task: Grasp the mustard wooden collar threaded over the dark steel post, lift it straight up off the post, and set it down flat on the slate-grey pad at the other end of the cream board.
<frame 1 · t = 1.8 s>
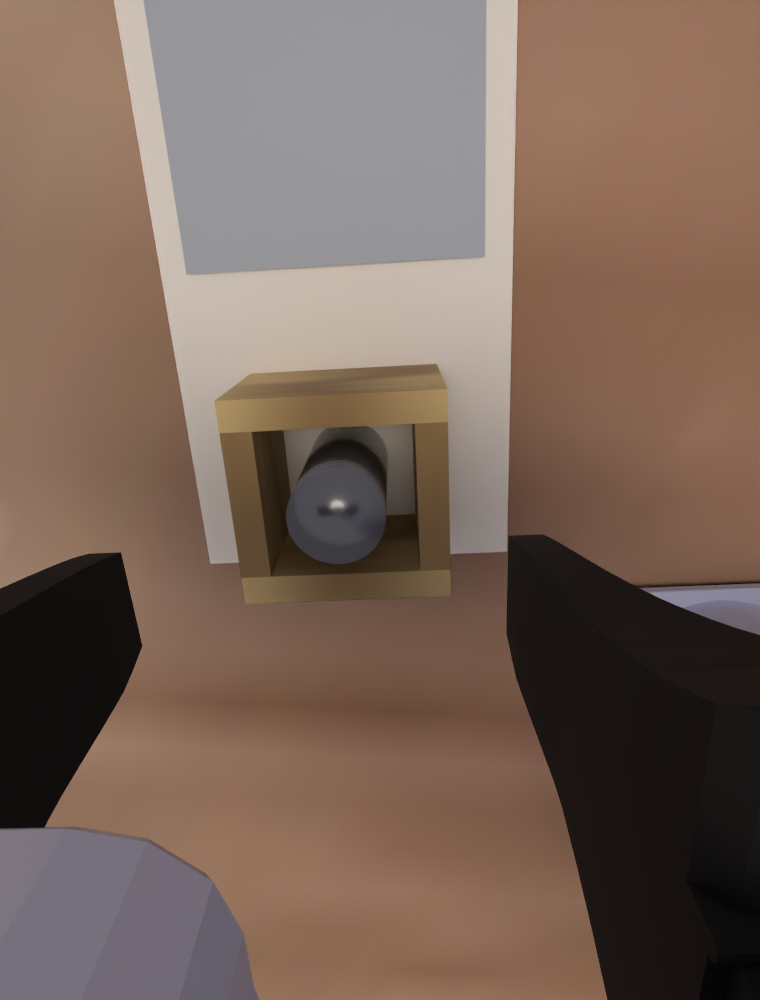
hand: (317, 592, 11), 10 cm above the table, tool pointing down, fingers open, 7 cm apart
board: (339, 290, 19), on the table
collar: (349, 458, 19), point 1 cm above the table, touching board
post: (351, 449, 20), resting on board
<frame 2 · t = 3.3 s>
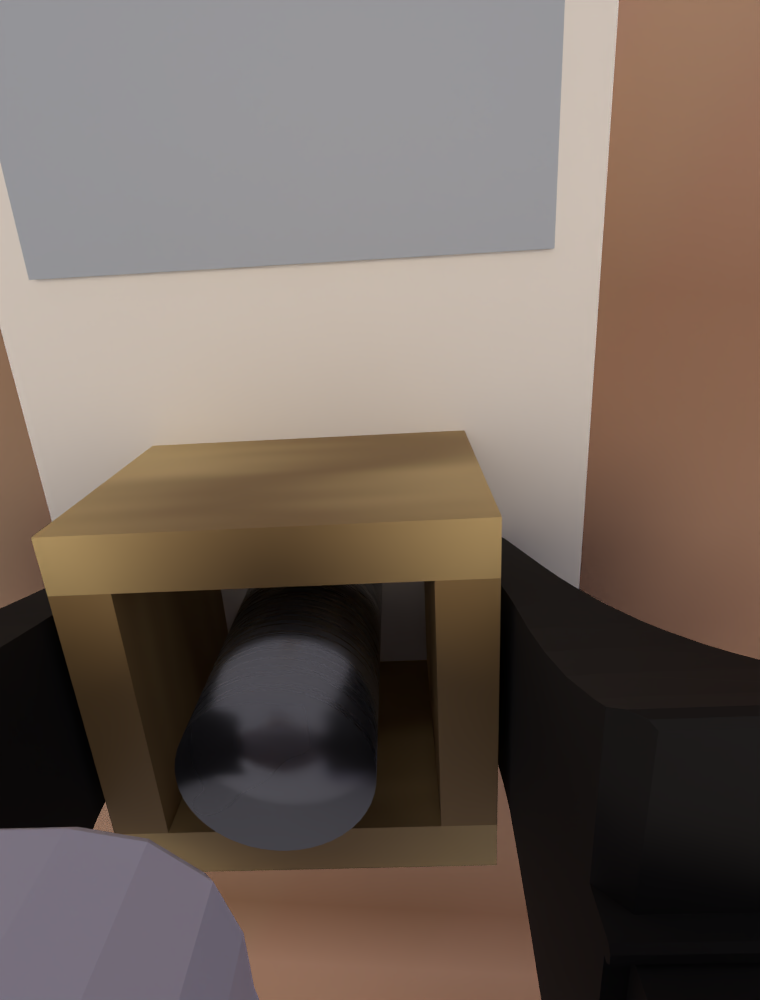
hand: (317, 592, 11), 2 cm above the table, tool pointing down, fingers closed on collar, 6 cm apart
board: (302, 305, 11), on the table
collar: (321, 577, 12), point 1 cm above the table, touching board, gripper
post: (326, 554, 13), resting on board
when the fingers open (3 cm above the table, at t = 8.0 s): collar drops 1 cm, resting on board.
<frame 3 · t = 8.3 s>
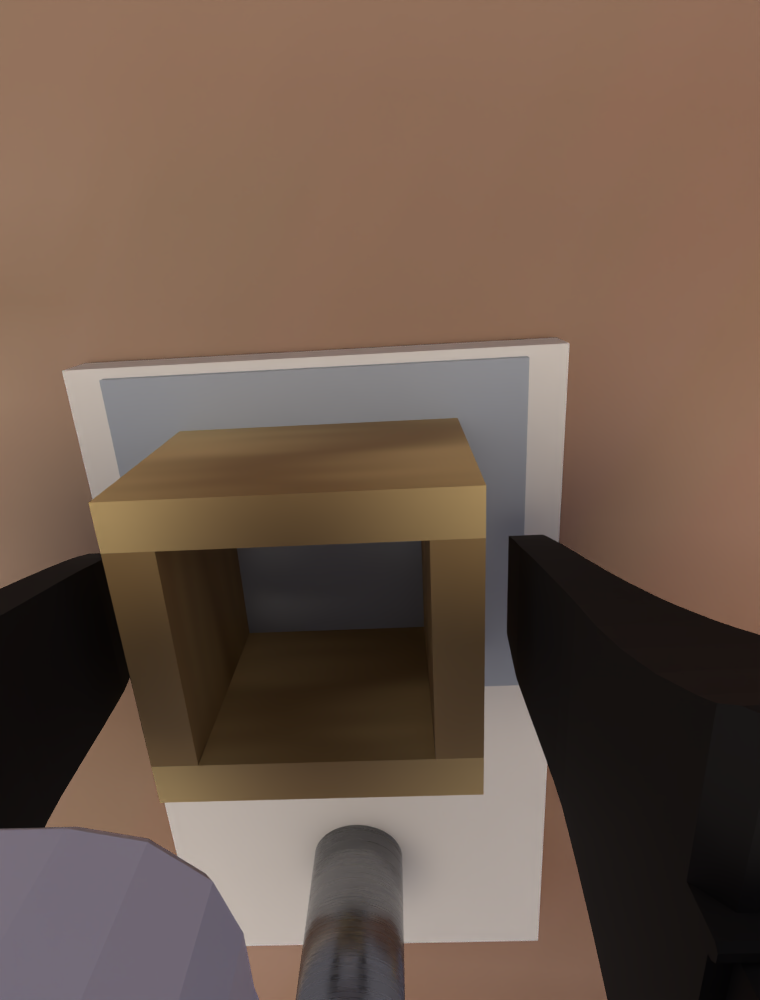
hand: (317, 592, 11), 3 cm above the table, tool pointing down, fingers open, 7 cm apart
board: (347, 683, 16), on the table
collar: (329, 550, 13), point 1 cm above the table, touching board
post: (360, 826, 18), resting on board
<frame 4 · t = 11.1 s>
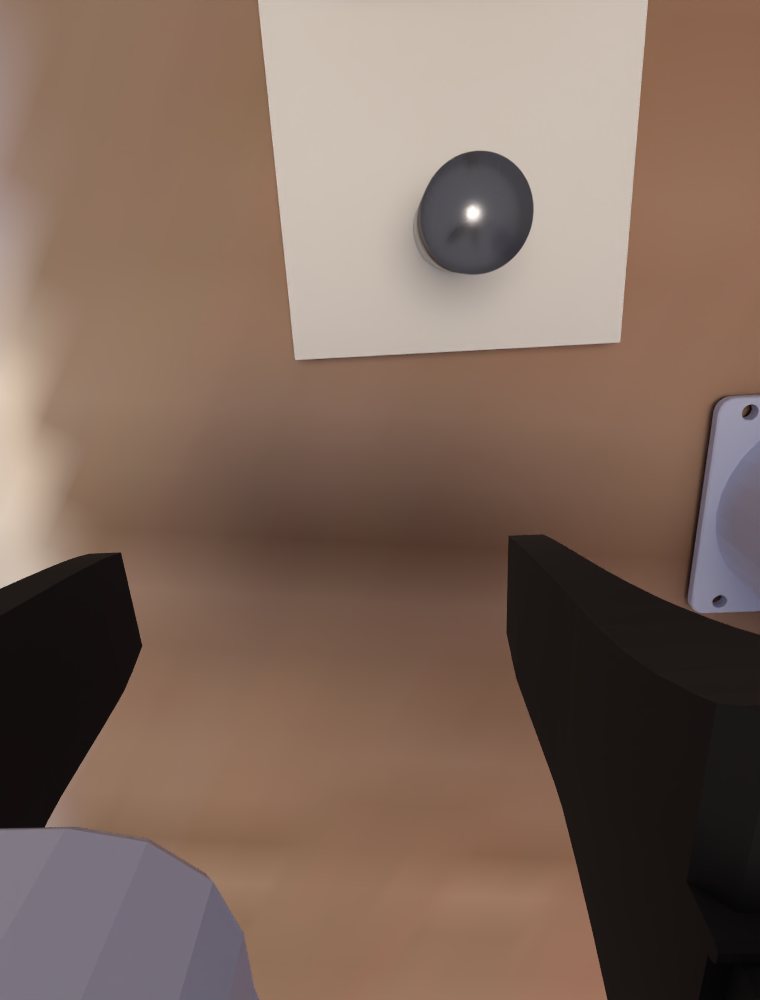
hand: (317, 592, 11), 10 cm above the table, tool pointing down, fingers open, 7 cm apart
board: (448, 31, 17), on the table
post: (451, 229, 19), resting on board
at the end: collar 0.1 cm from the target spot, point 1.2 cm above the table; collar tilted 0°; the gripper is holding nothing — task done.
